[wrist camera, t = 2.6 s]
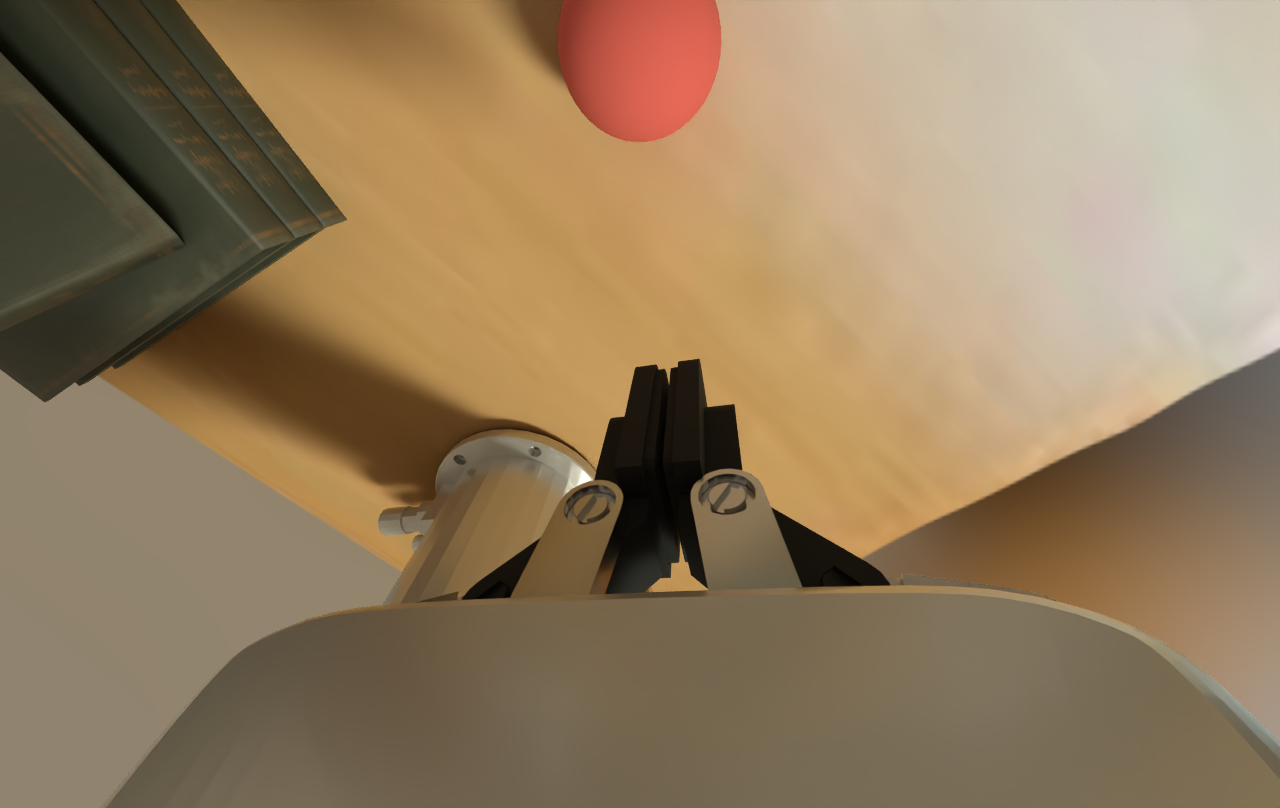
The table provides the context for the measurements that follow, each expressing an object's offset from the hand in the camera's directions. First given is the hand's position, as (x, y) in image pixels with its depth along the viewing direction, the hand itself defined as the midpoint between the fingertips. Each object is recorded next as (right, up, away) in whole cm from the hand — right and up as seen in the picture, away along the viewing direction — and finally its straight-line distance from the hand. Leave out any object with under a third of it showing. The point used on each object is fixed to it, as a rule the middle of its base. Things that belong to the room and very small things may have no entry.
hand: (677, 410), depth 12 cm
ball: (-1, +13, +5) cm, 14 cm away
